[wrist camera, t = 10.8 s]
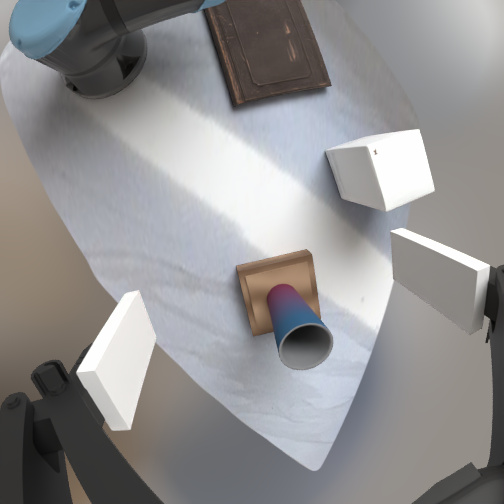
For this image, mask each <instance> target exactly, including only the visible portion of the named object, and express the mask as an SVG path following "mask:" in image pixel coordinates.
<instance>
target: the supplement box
mask: <svg viewBox="0 0 504 504" xmlns="http://www.w3.org/2000/svg"><path fill="white" fill-rule="evenodd" d="M325 152H326V155H327V157H328V160H329V163H330V166H331V169H332V172H333V175H334V178H335V181H336V184H337V187H338V190H339V193H340V196H341V198H342V199H344V200H348V201H351V202H354V203H358V204H361V205H365V206H368V207H371V208H374V209H378V210H381V211H384V212H388V211H390V210H393V209H395V208H397V207H400V206H402V205H404V204H406V203H409V202H411V201H413V200H416V199H418V198H420V197H423V196H425V195H427V194H429V193H432V192H434V191H435V190H434V186H433V180H432V177H431V172H430V168H429V164H428V160H427V157H426V152H425V149H424V145H423V141H422V138H421V134H420V131H419V130H407V131H400V132H392V133H385V134H379V135H372V136H367V137H363V138H360V139H357V140H354V141H350V142H347V143H344V144H341V145H338V146H335V147H332V148H329V149H327V150H325Z"/></svg>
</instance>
